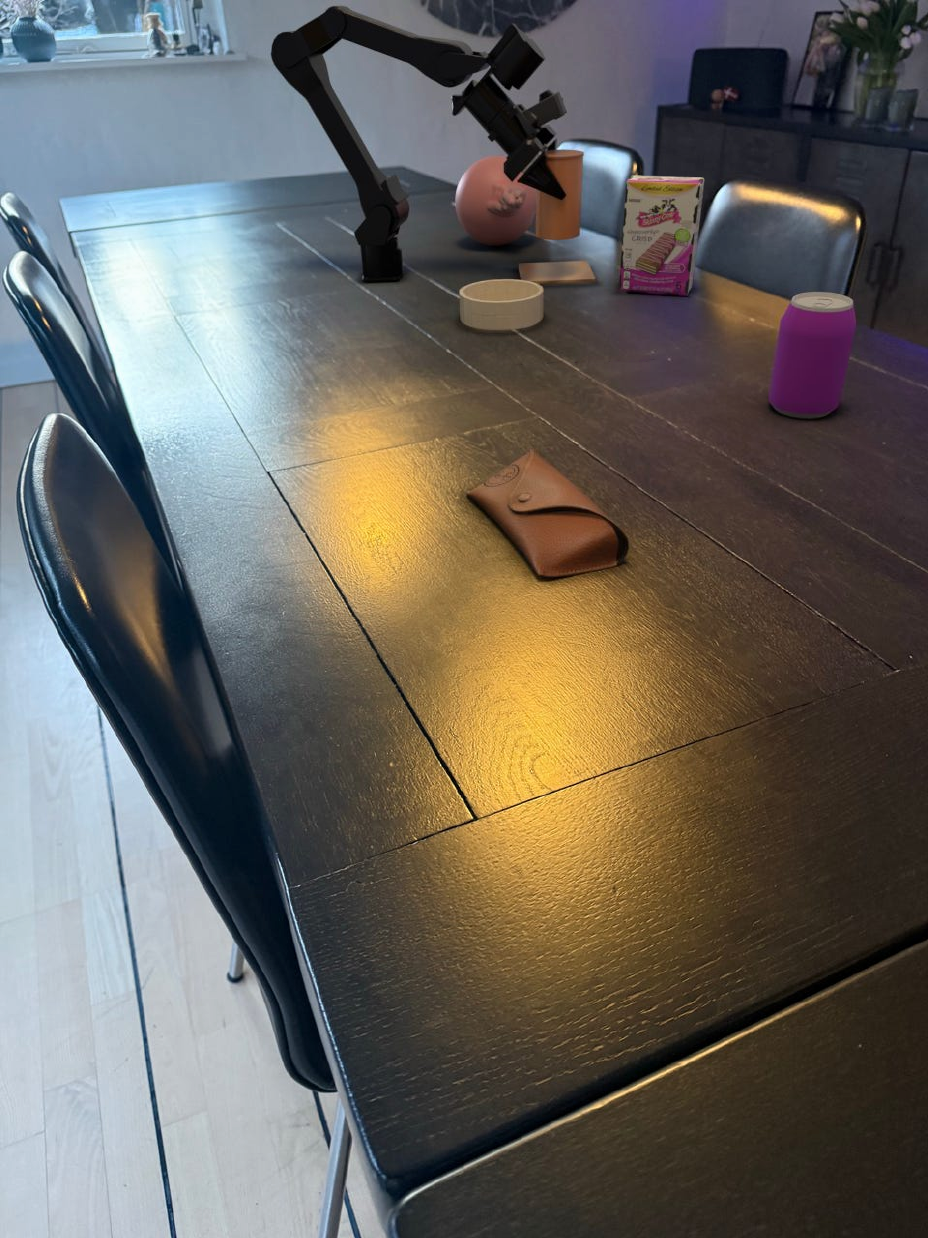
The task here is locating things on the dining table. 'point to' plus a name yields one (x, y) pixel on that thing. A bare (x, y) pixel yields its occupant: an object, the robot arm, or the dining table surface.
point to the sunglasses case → (550, 519)
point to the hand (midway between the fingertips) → (567, 193)
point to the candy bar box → (660, 234)
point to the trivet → (556, 272)
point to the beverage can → (812, 354)
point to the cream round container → (501, 304)
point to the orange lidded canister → (556, 214)
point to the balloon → (494, 203)
